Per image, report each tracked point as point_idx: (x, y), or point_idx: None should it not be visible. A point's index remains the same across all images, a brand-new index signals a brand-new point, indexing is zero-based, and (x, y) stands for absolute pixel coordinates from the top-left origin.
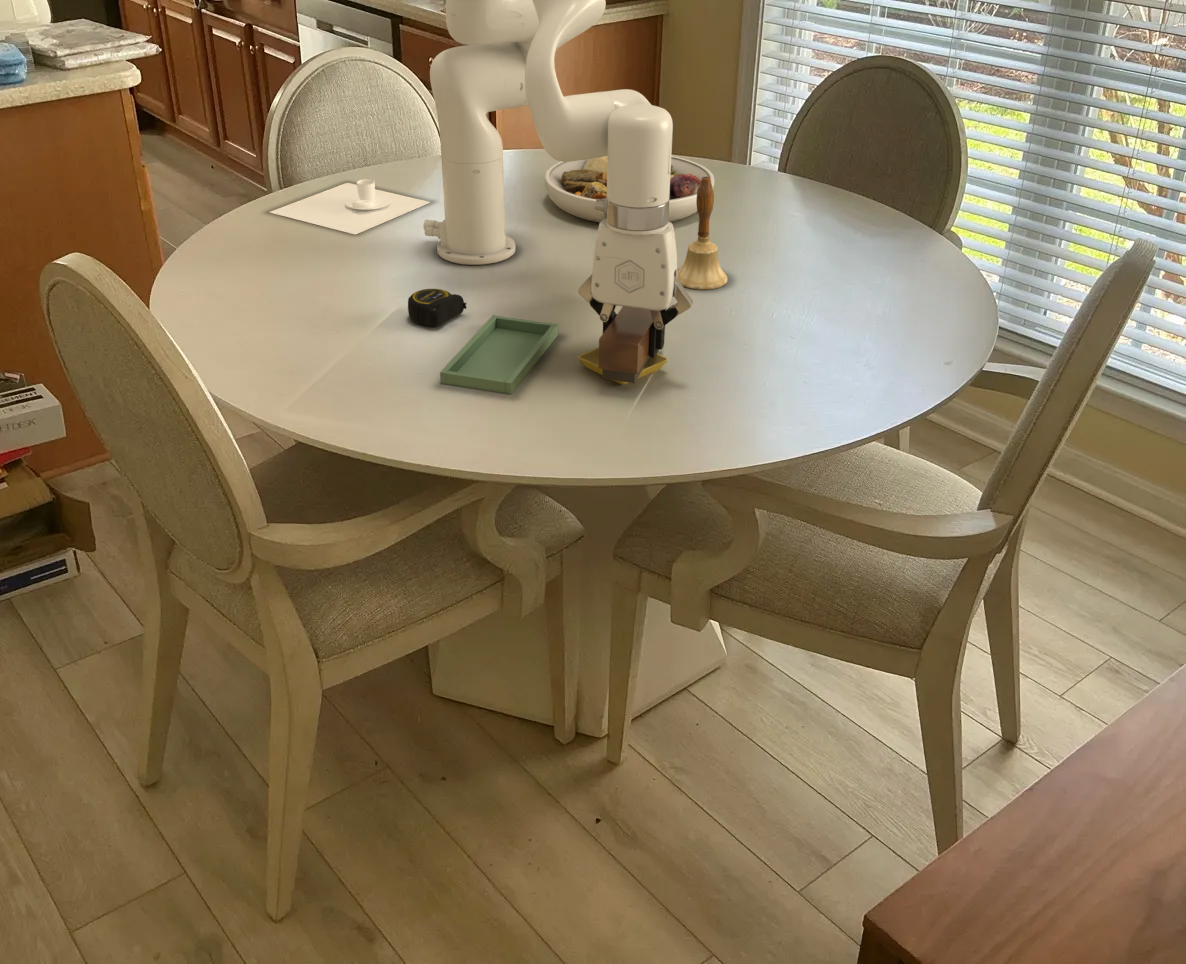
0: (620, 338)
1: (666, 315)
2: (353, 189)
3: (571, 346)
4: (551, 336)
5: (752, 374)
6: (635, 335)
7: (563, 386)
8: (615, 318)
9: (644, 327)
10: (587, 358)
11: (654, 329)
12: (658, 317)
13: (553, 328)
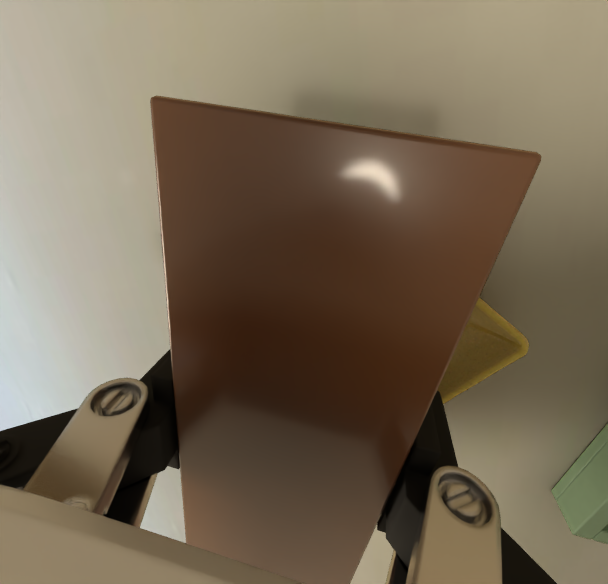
0: (320, 206)
1: (36, 453)
2: None
3: (514, 447)
4: (601, 482)
5: (54, 322)
6: (217, 277)
7: (584, 190)
8: (384, 489)
9: (198, 389)
10: (481, 351)
11: (154, 379)
12: (80, 440)
13: (596, 516)
